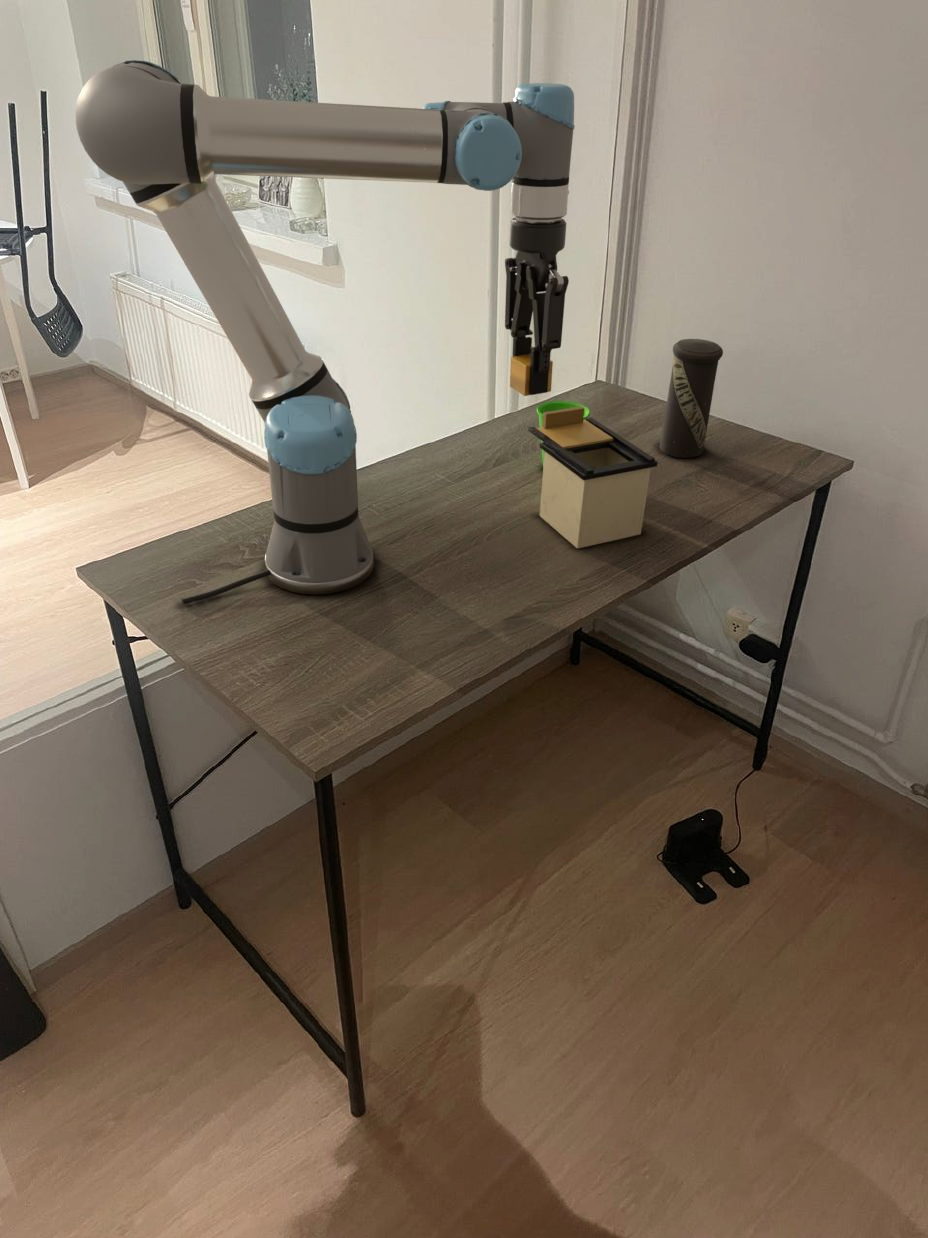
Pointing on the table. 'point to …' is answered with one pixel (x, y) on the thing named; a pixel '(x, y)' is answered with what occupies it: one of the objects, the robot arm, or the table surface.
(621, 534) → the sliding lid box
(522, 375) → the block
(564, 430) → the shutter
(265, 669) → the table surface
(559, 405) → the cup
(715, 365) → the container
